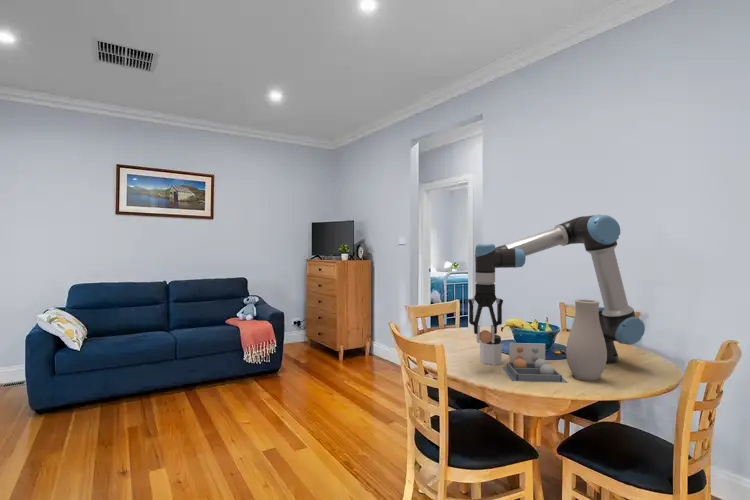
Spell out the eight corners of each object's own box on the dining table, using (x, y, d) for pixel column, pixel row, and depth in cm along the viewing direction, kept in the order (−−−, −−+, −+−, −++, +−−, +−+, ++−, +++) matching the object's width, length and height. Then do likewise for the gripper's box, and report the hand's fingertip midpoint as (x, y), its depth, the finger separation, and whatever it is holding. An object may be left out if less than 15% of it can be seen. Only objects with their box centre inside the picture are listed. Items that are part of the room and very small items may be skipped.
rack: (552, 370, 168) (552, 343, 167) (568, 385, 151) (568, 355, 150) (501, 369, 169) (501, 342, 169) (512, 383, 152) (512, 353, 152)
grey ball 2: (551, 375, 158) (551, 362, 158) (556, 380, 153) (556, 366, 153) (537, 375, 159) (538, 362, 159) (542, 379, 154) (542, 366, 154)
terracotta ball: (524, 369, 166) (524, 356, 166) (528, 373, 161) (528, 360, 161) (511, 369, 166) (512, 356, 166) (515, 373, 161) (515, 360, 161)
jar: (491, 368, 170) (491, 339, 170) (476, 363, 177) (476, 335, 177) (505, 364, 175) (505, 336, 175) (490, 360, 182) (490, 333, 182)
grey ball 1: (545, 369, 165) (545, 357, 165) (549, 374, 160) (549, 361, 160) (532, 369, 166) (532, 357, 166) (536, 373, 161) (536, 360, 161)
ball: (490, 341, 166) (490, 329, 166) (493, 344, 161) (493, 331, 161) (477, 341, 166) (477, 328, 166) (480, 344, 161) (480, 331, 161)
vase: (575, 385, 150) (576, 303, 150) (560, 373, 164) (561, 298, 164) (613, 386, 150) (615, 303, 149) (595, 374, 164) (596, 298, 163)
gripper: (506, 282, 166) (506, 340, 167) (460, 282, 167) (461, 339, 168) (510, 284, 159) (511, 344, 159) (463, 284, 160) (463, 344, 160)
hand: (485, 342), depth 164 cm, fingers closed on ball, 5 cm apart
